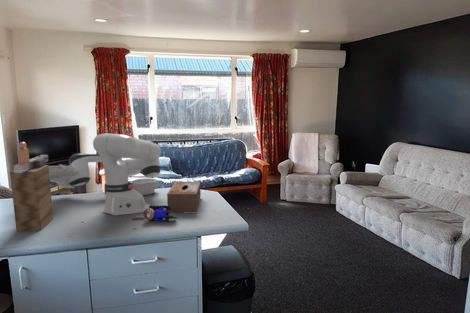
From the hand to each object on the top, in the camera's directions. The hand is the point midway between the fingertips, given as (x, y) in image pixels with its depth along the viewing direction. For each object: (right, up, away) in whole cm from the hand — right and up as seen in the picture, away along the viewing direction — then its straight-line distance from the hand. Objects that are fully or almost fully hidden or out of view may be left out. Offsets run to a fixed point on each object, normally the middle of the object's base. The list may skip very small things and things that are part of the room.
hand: (50, 166), depth 175 cm
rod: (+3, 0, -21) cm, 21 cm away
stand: (+4, -26, -19) cm, 33 cm away
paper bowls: (+39, -18, +33) cm, 54 cm away
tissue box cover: (+67, -22, +10) cm, 71 cm away
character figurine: (+59, -26, -14) cm, 66 cm away
